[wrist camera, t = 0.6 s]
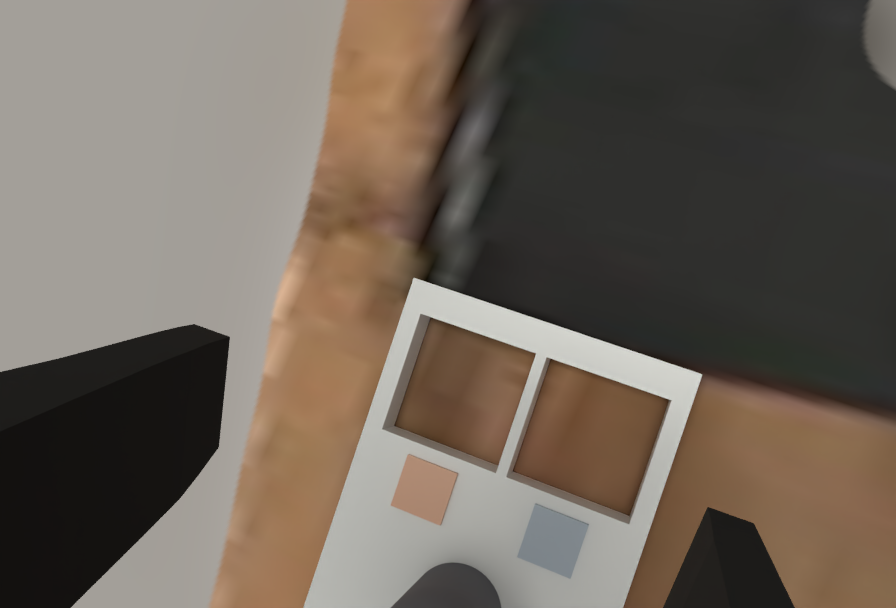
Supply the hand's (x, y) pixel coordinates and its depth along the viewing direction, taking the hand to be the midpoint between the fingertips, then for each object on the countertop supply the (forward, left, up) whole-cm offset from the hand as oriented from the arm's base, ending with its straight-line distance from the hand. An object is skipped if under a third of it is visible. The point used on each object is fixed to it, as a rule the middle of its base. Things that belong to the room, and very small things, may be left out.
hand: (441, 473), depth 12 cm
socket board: (-4, +1, -20) cm, 21 cm away
